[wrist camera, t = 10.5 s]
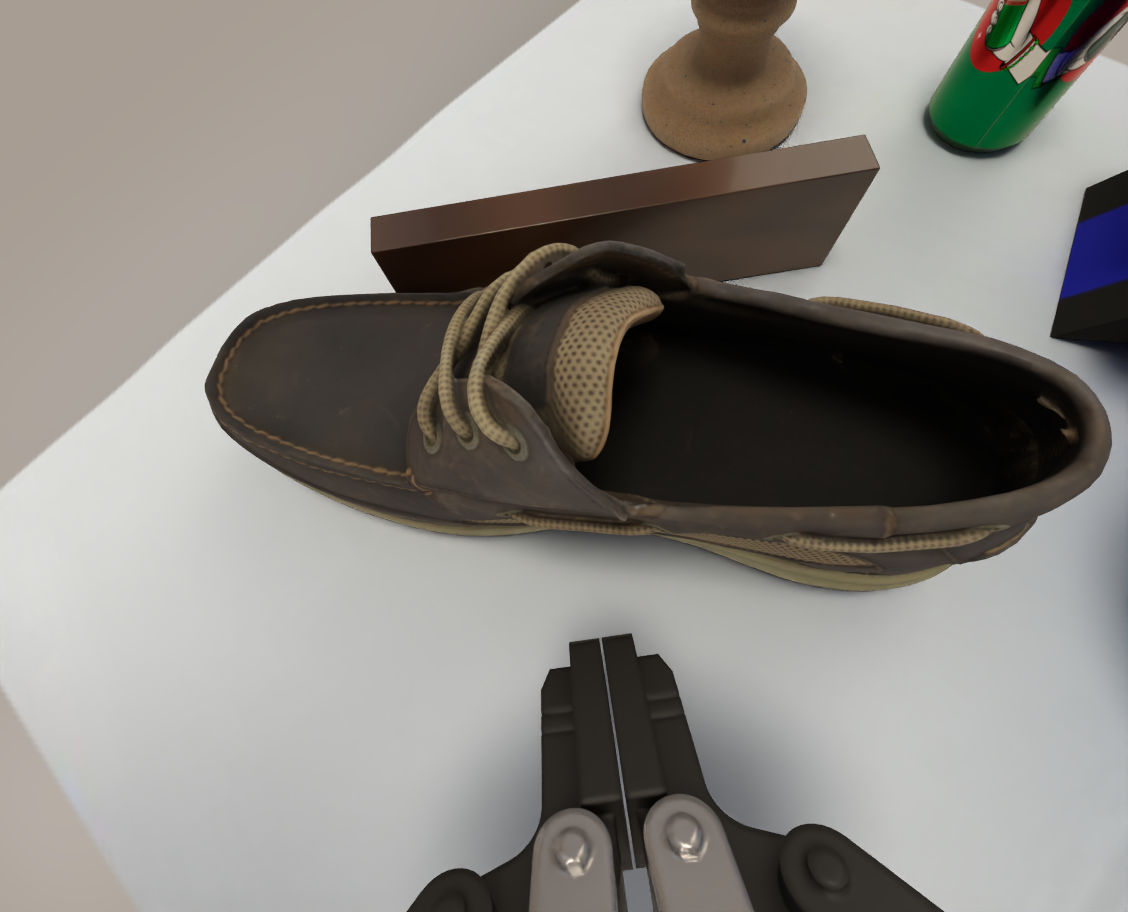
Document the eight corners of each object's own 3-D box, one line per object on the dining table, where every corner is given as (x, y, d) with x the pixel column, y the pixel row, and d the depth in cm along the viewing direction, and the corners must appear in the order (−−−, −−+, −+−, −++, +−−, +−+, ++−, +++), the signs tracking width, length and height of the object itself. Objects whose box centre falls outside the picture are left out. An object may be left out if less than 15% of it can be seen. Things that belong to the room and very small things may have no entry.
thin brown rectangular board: (810, 236, 25) (865, 133, 20) (821, 265, 24) (881, 167, 19) (417, 299, 26) (369, 216, 20) (419, 330, 25) (370, 252, 20)
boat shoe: (318, 310, 26) (132, 106, 16) (927, 357, 22) (1193, 136, 12) (248, 518, 22) (-45, 430, 12) (952, 609, 19) (1346, 591, 9)
